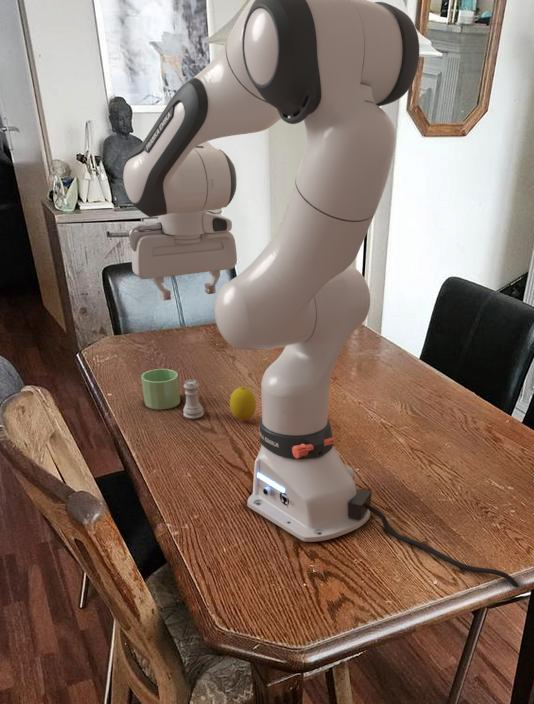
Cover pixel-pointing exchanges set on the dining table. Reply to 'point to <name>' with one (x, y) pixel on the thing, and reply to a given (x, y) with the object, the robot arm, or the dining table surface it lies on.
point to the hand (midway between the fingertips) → (188, 296)
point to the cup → (160, 388)
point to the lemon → (242, 403)
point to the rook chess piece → (192, 401)
